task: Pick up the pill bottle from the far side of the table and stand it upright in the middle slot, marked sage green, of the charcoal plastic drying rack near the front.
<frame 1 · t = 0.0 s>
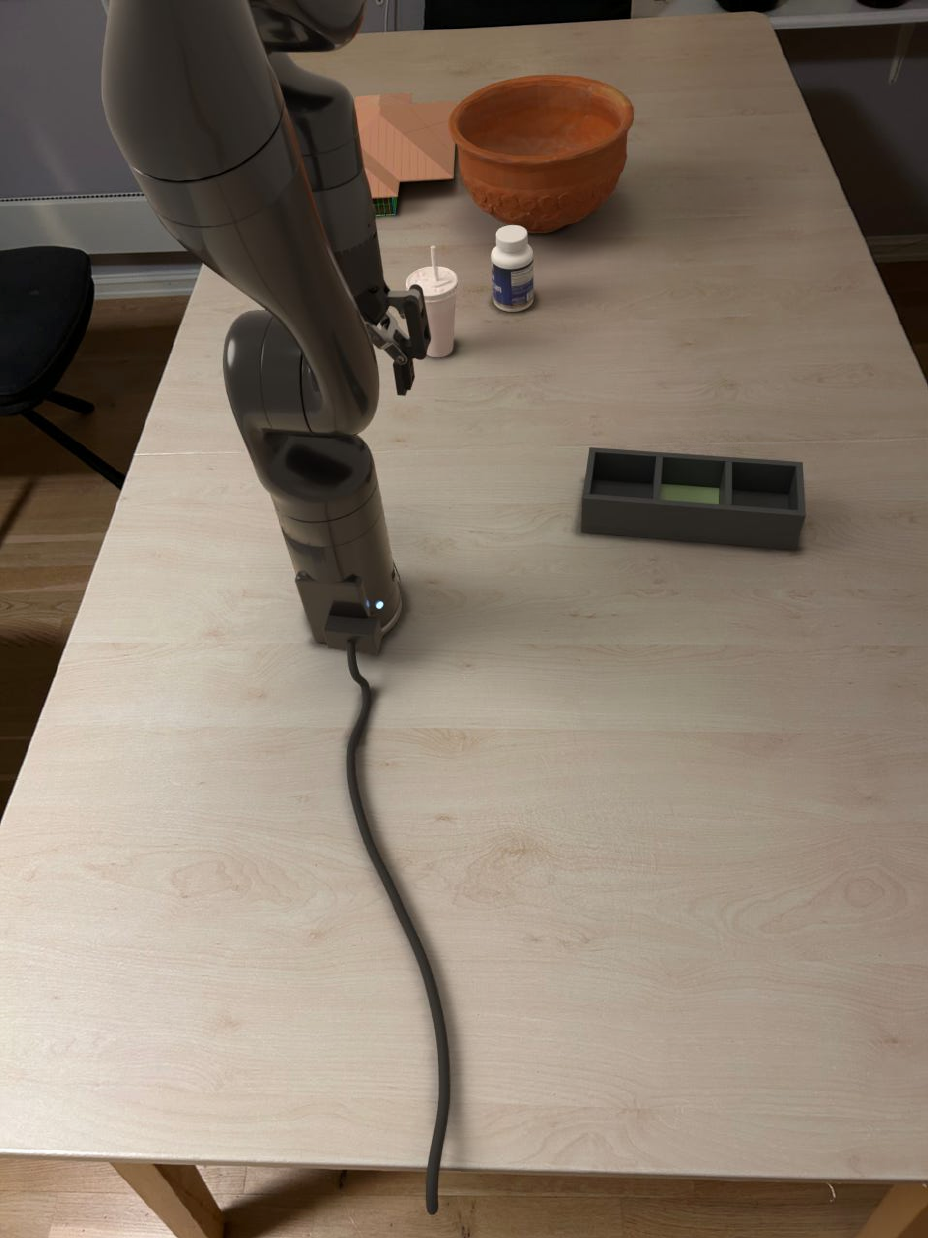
hand: (360, 387, 88), 17 cm above the table, tool pointing down, fingers open, 8 cm apart
smoothie: (438, 349, 119), on the table
bowl: (541, 220, 137), on the table
house: (386, 165, 150), on the table
rack: (687, 514, 98), on the table
pill bottle: (513, 302, 125), on the table
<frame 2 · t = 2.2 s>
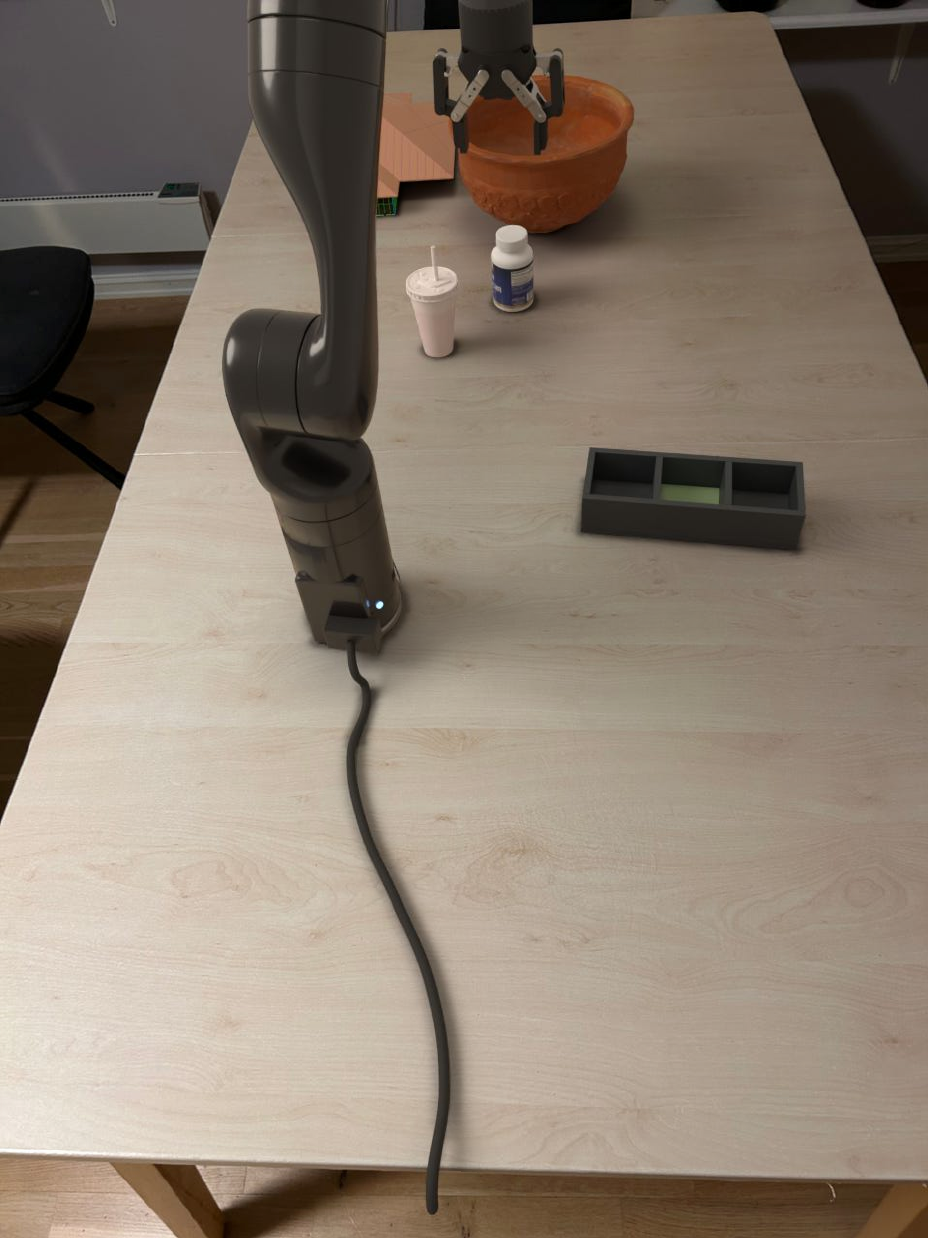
hand: (501, 151, 107), 21 cm above the table, tool pointing down, fingers open, 8 cm apart
nothing on the table moved.
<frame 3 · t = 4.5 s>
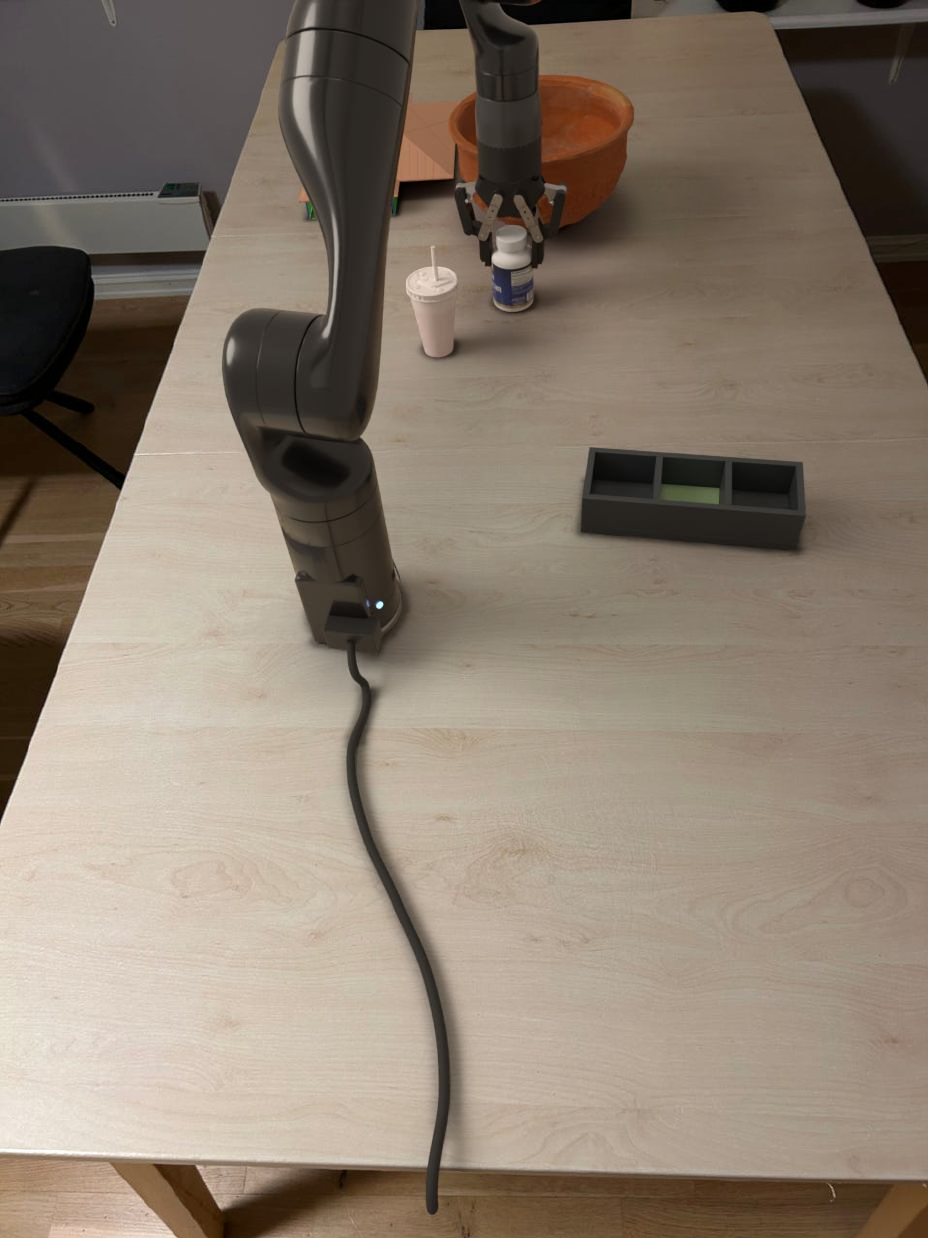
hand: (512, 263, 120), 6 cm above the table, tool pointing down, fingers closed on pill bottle, 5 cm apart
pill bottle: (513, 302, 125), on the table, touching gripper
everything else where it was.
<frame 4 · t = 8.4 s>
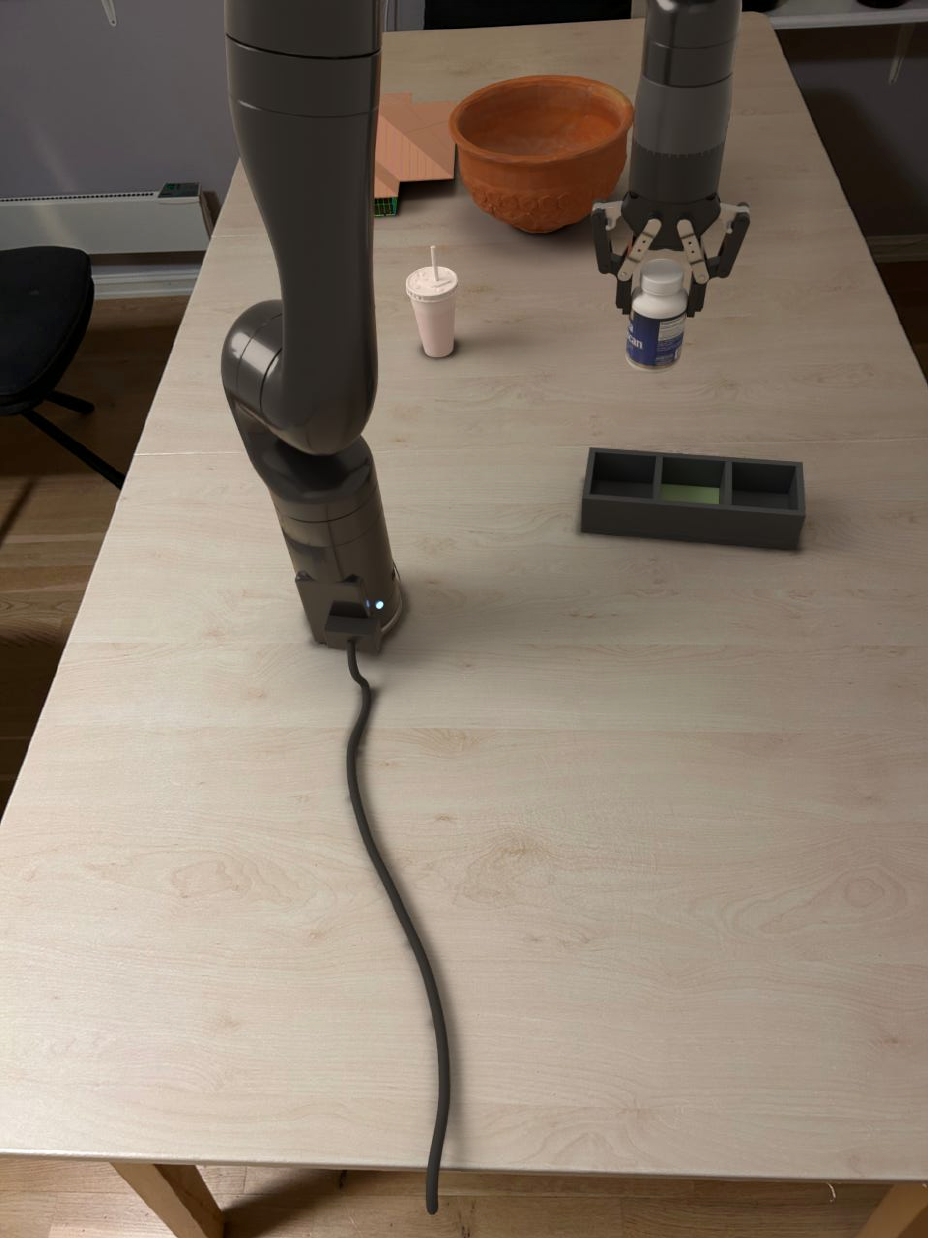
hand: (658, 310, 89), 19 cm above the table, tool pointing down, fingers closed on pill bottle, 5 cm apart
pill bottle: (652, 360, 93), point 14 cm above the table, touching gripper
everything else where it was.
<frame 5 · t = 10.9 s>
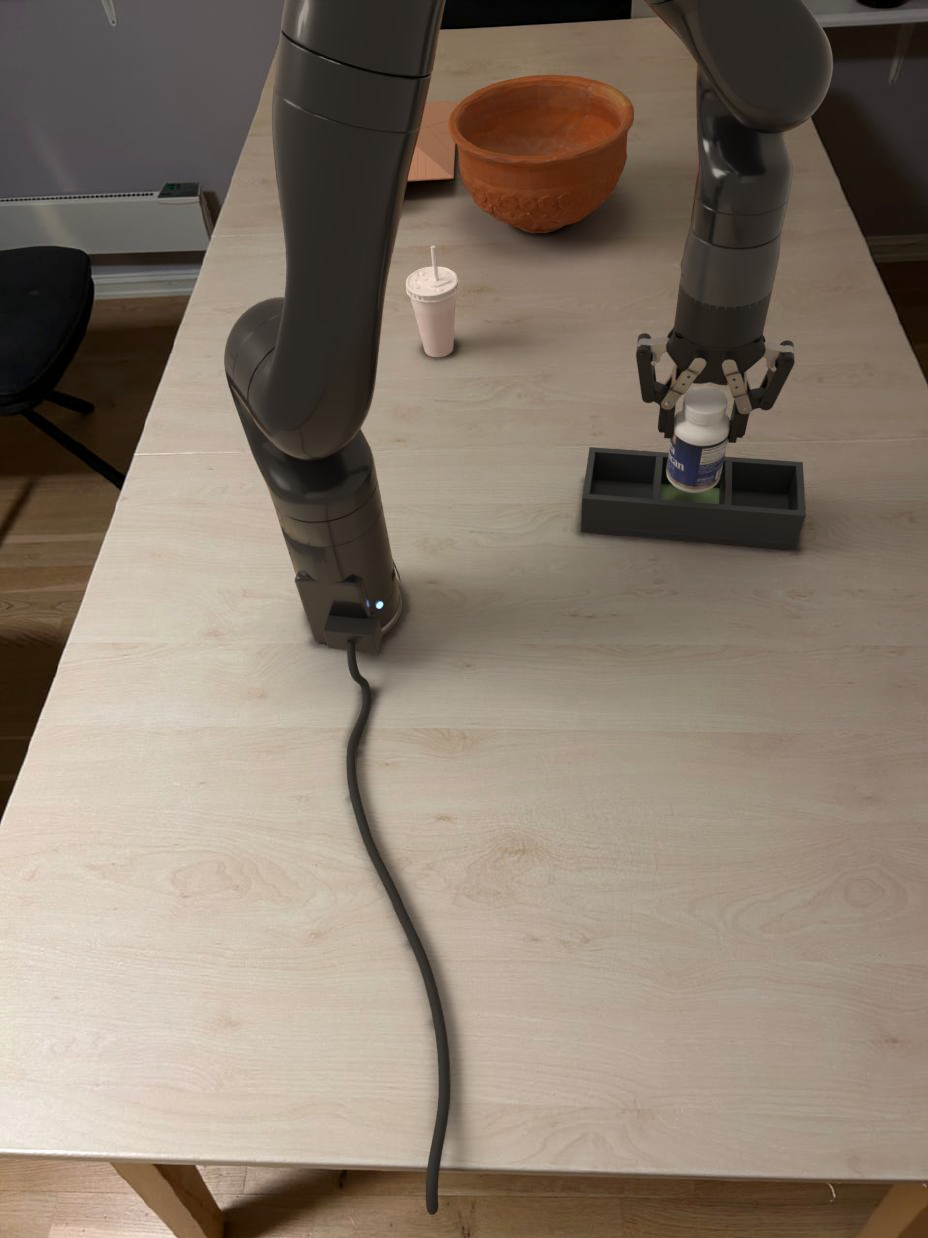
hand: (700, 434, 90), 11 cm above the table, tool pointing down, fingers closed on pill bottle, 5 cm apart
pill bottle: (692, 477, 94), point 5 cm above the table, touching gripper
everything else where it was.
when the fingers open (7 cm above the table, at t = 12.5 s): pill bottle stays where it is, resting on rack.
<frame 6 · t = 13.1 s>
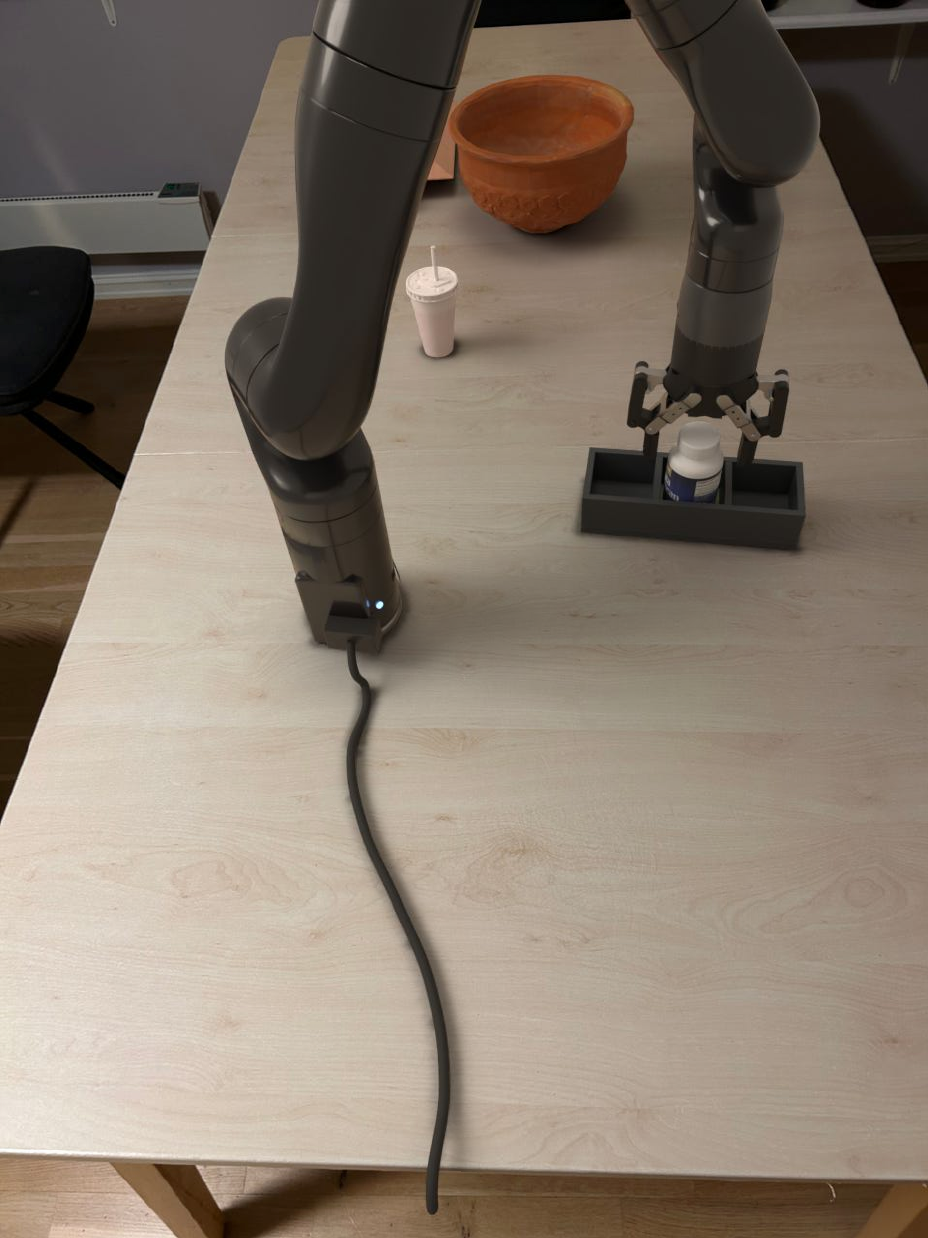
hand: (696, 459, 92), 8 cm above the table, tool pointing down, fingers open, 8 cm apart
pill bottle: (687, 507, 98), point 1 cm above the table, touching rack
everything else where it was.
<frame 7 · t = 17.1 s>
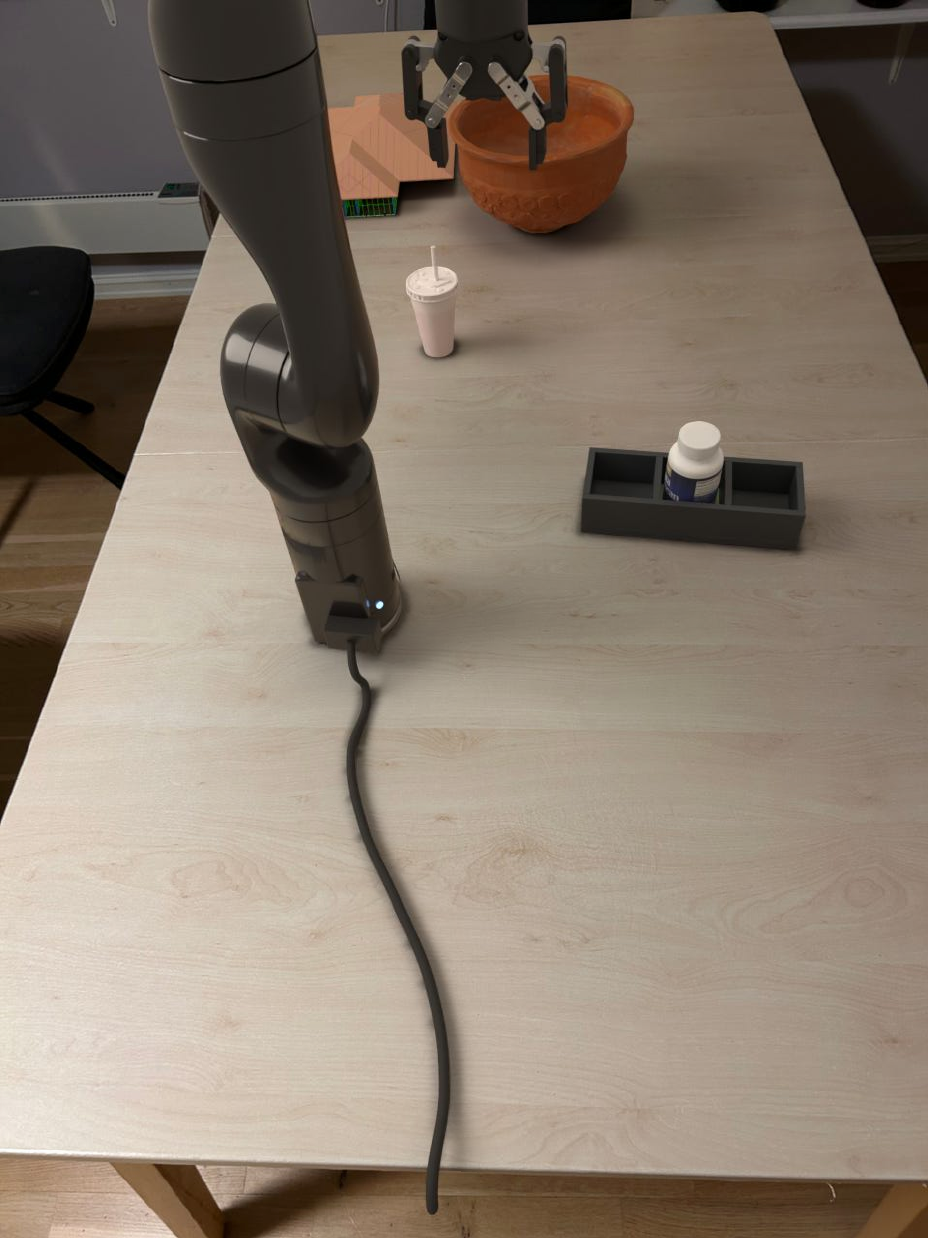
hand: (488, 165, 86), 30 cm above the table, tool pointing down, fingers open, 8 cm apart
nothing on the table moved.
at the end: pill bottle 0.1 cm off-centre in the rack, point 1.0 cm above the rack's base; pill bottle tilted 0°; the gripper is holding nothing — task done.
